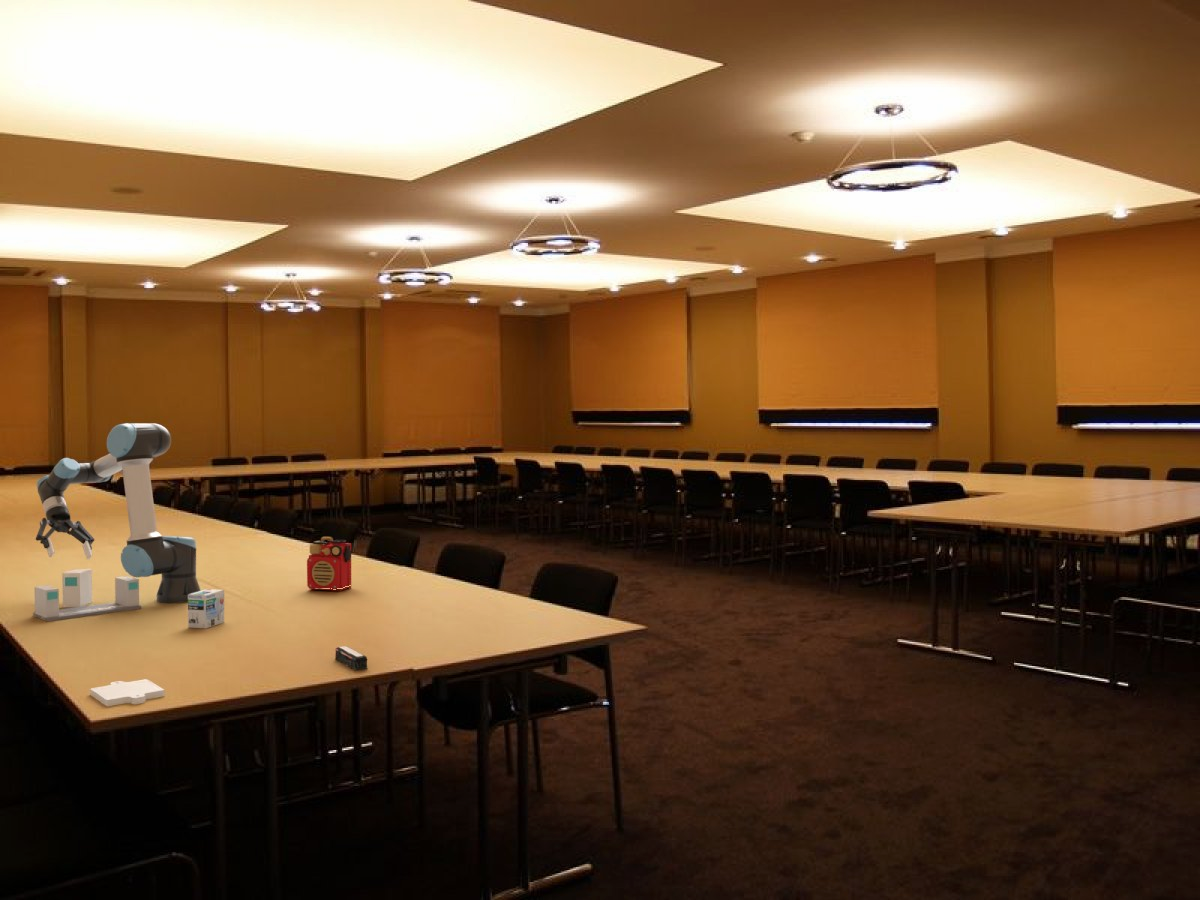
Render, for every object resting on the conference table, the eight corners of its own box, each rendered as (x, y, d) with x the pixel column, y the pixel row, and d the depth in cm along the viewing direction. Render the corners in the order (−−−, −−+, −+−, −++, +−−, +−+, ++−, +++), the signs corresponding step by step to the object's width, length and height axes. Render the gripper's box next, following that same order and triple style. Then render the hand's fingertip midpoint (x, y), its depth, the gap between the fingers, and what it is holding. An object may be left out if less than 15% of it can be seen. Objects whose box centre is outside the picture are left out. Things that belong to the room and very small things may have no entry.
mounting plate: (168, 700, 237) (168, 692, 237) (110, 710, 228) (110, 702, 228) (143, 684, 251) (143, 677, 250) (87, 694, 242) (87, 686, 242)
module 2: (127, 601, 354) (126, 576, 354) (139, 605, 347) (139, 579, 347) (115, 602, 351) (115, 577, 351) (127, 606, 344) (127, 580, 344)
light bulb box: (206, 629, 314) (205, 595, 314) (187, 628, 315) (186, 594, 315) (225, 622, 324) (225, 589, 324) (206, 621, 326) (206, 588, 325)
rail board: (125, 603, 355) (125, 600, 355) (141, 608, 346) (141, 605, 346) (33, 615, 333) (33, 612, 333) (47, 621, 324) (47, 618, 324)
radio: (304, 590, 383) (304, 538, 382) (318, 586, 393) (317, 535, 392) (342, 592, 379) (341, 540, 379) (354, 588, 389) (354, 537, 388)
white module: (92, 602, 358) (91, 569, 357) (79, 607, 348) (79, 573, 348) (75, 602, 357) (74, 569, 357) (62, 607, 348) (61, 573, 348)
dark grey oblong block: (342, 678, 258) (342, 662, 258) (310, 658, 279) (310, 643, 279) (394, 670, 267) (394, 654, 267) (360, 651, 287) (360, 637, 287)
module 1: (47, 611, 335) (47, 585, 334) (59, 616, 328) (59, 588, 327) (34, 613, 332) (34, 586, 331) (46, 617, 325) (45, 590, 324)
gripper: (85, 521, 378) (99, 564, 368) (16, 515, 358) (30, 560, 348) (94, 508, 376) (109, 551, 366) (26, 501, 356) (40, 546, 345)
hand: (71, 555), depth 357 cm, fingers open, 13 cm apart
